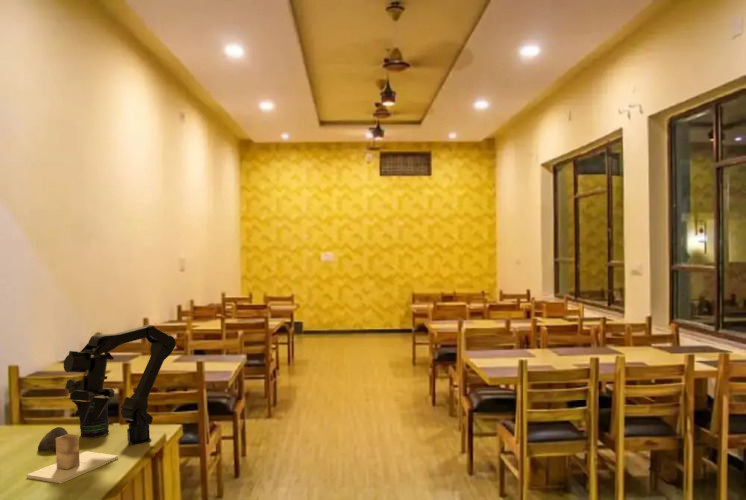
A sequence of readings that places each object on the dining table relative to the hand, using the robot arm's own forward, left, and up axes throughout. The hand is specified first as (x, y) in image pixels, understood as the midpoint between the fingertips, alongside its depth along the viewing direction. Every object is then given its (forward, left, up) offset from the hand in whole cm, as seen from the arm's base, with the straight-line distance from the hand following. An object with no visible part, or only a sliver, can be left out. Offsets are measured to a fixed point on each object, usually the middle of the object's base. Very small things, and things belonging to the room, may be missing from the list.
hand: (89, 420), depth 204 cm
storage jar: (-8, -27, -12) cm, 30 cm away
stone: (+7, -18, -12) cm, 23 cm away
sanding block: (+9, +10, -11) cm, 17 cm away
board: (+7, +8, -12) cm, 16 cm away
